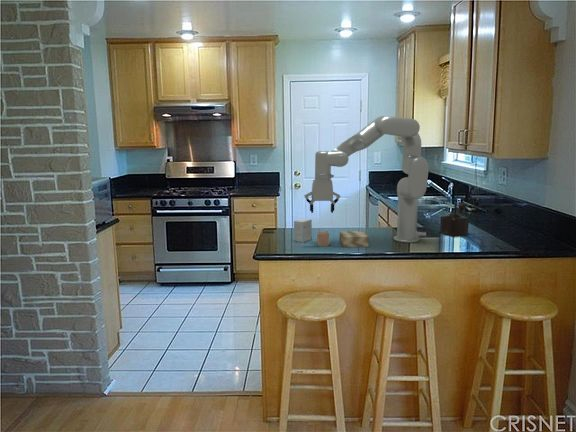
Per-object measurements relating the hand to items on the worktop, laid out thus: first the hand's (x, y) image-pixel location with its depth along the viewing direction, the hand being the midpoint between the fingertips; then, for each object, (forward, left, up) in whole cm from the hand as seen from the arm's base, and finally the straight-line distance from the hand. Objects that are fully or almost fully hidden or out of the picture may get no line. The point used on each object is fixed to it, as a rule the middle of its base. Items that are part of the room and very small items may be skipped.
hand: (322, 212), depth 224 cm
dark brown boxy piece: (-73, -11, -16) cm, 75 cm away
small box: (+8, -10, -16) cm, 21 cm away
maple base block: (-16, +1, -16) cm, 22 cm away
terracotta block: (-1, 0, -16) cm, 16 cm away
